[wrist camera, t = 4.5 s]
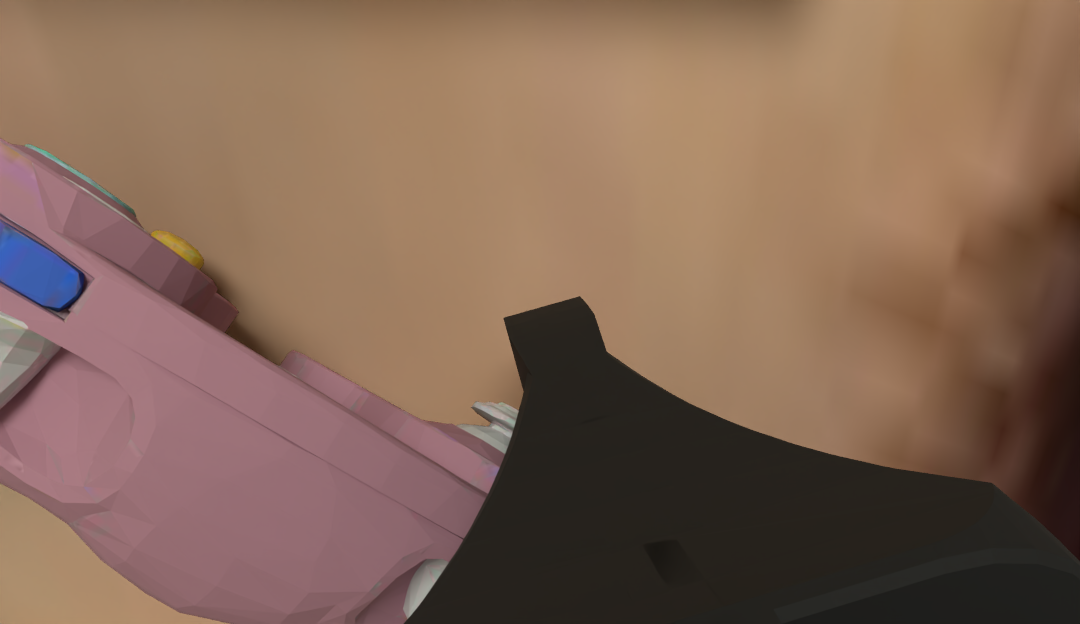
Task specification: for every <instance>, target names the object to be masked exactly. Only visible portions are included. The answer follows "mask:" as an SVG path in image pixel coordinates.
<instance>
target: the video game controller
mask: <svg viewBox="0 0 1080 624" xmlns="http://www.w3.org/2000/svg"><path fill="white" fill-rule="evenodd" d="M203 264H204V259H203V257H202V256H201V254H200V253H199V252H198V250H197V249H195V248H194V247H193V246H191V245H190V244H189V243H188V242H186V241H185V240H184V239H182V238H180V237H178V236H176V235H174V234H172V233H170V232H165V231H159V230H157V231H153V232H152V234H151V235H150V234H149V233H148V232H147V231H145V230H144V228H143V227H142V226H141V224H140V223H139V222H138V220H137V219H136V215H135V212H134V210H133V209H132V208H130V207H129V206H128V205H126V204H125V203H123V202H122V201H121V200H119V199H118V198H116V197H115V196H114V195H112V194H111V193H109V192H108V191H107V190H105V189H104V188H102V187H101V186H100V185H98V184H97V183H95V182H94V181H93V180H91V179H90V178H88V177H87V176H85V175H83V174H82V173H80V172H79V171H77V170H75V169H74V168H72V167H71V166H69V165H67V164H66V163H64V162H63V161H61V160H59V159H58V158H56V157H55V156H53V155H51V154H50V153H48V152H47V151H44V150H42V149H40V148H38V147H35V146H33V145H31V144H27V145H25V146H21V145H14V144H10V143H8V142H6V141H5V140H3V139H1V138H0V483H1V484H3V485H5V486H7V487H9V488H11V489H13V490H15V491H16V492H18V493H20V494H22V495H24V496H26V497H28V498H30V499H31V500H33V501H34V502H36V503H37V504H39V505H40V506H42V507H43V508H45V509H46V510H48V511H49V512H50V513H52V514H53V515H55V516H56V517H58V518H59V519H61V520H62V521H64V522H65V523H67V524H68V525H69V526H70V527H71V529H72V530H73V531H74V532H75V533H76V534H77V535H78V536H79V537H80V538H81V539H82V540H83V541H84V542H85V544H86V545H87V546H88V547H89V548H90V549H91V550H92V551H93V552H94V553H95V554H96V555H97V556H98V557H99V559H100V560H102V561H103V562H104V563H106V564H107V565H108V566H110V567H111V568H112V569H114V570H115V571H116V572H118V573H119V574H120V575H122V576H123V577H124V578H126V579H127V580H128V581H130V582H131V583H133V584H134V585H135V586H137V587H138V588H139V589H141V590H142V591H143V592H145V593H146V594H148V595H150V596H151V597H153V598H155V599H157V600H158V601H160V602H162V603H164V604H165V605H167V606H169V607H171V608H172V609H174V610H176V611H178V612H180V613H184V614H189V615H193V616H198V617H203V618H207V619H212V620H217V621H221V622H226V623H231V624H404V623H405V621H406V620H407V619H408V618H409V617H410V616H411V615H412V613H413V612H414V611H415V610H416V609H417V607H418V606H419V605H420V603H421V602H422V601H423V599H424V598H425V597H426V595H427V594H428V592H429V591H430V589H431V588H432V586H433V585H434V583H435V582H436V580H437V579H438V578H439V576H440V575H441V573H442V572H443V570H444V569H445V567H446V566H447V564H448V563H449V561H450V560H451V559H452V557H453V556H454V554H455V553H456V551H457V550H458V548H459V546H460V545H461V543H462V541H463V540H464V538H465V536H466V535H467V533H468V531H469V529H470V528H471V526H472V524H473V522H474V520H475V518H476V516H477V514H478V512H479V510H480V508H481V507H482V505H483V503H484V501H485V499H486V497H487V495H488V493H489V491H490V489H491V487H492V484H493V482H494V480H495V477H496V475H497V473H498V470H499V468H500V466H501V463H502V461H503V458H504V456H505V453H506V450H507V447H508V445H509V442H510V439H511V436H512V433H513V429H514V426H515V422H516V419H517V415H518V412H519V410H517V409H515V408H513V407H511V406H509V405H508V404H505V403H502V402H500V403H498V404H495V403H493V402H486V403H483V402H477V401H476V402H475V403H474V404H473V406H472V407H471V408H472V409H473V410H474V411H475V412H476V413H477V414H479V415H480V416H482V417H483V418H485V419H486V420H488V421H489V422H490V423H491V424H490V425H489V426H478V425H469V424H460V425H456V426H455V425H453V424H444V423H438V422H431V421H425V420H421V419H419V418H417V417H415V416H413V415H411V414H410V413H408V412H406V411H404V410H402V409H400V408H398V407H397V406H395V405H393V404H391V403H389V402H387V401H386V400H384V399H382V398H380V397H378V396H376V395H375V394H373V393H371V392H369V391H367V390H366V389H364V388H362V387H360V386H359V385H357V384H355V383H353V382H352V381H350V380H348V379H346V378H344V377H343V376H341V375H339V374H337V373H336V372H334V371H332V370H330V369H329V368H327V367H325V366H323V365H322V364H320V363H318V362H316V361H314V360H313V359H311V358H309V357H307V356H306V355H304V354H302V353H299V352H297V351H294V350H292V351H291V352H289V353H288V354H287V356H286V357H285V359H284V360H283V362H282V364H281V365H280V366H278V365H276V364H274V363H273V362H271V361H270V360H268V359H266V358H265V357H263V356H261V355H260V354H258V353H256V352H255V351H253V350H252V349H250V348H248V347H247V346H245V345H243V344H242V343H240V342H239V341H237V340H235V339H234V338H232V337H230V336H229V335H227V334H225V332H226V330H227V329H228V327H229V326H230V324H231V323H232V322H233V320H234V319H235V317H236V316H237V314H238V313H239V312H238V311H237V309H236V307H235V306H233V305H232V304H231V303H230V302H229V301H228V300H226V299H225V298H224V297H222V296H221V295H220V294H218V293H217V292H216V291H217V290H218V289H217V287H216V285H215V283H214V281H213V280H212V279H211V278H209V277H208V276H207V275H205V274H204V273H203V272H201V271H200V269H201V267H202V266H203Z"/></svg>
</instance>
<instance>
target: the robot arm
mask: <svg viewBox="0 0 1080 624" xmlns="http://www.w3.org/2000/svg"><path fill="white" fill-rule="evenodd" d="M504 322H505V325H506V329H507V333H508V336H509V340H510V343H511V347H512V351H513V354H514V358H515V361H516V365H517V369H518V372H519V376H520V380H521V383H522V387H523V390H524V393H523V398H522V402H521V405H520V409H519V412H518V415H517V419H516V422H515V426H514V429H513V433H512V436H511V439H510V442H509V445H508V447H507V450H506V453H505V456H504V458H503V461H502V463H501V466H500V468H499V470H498V473H497V475H496V477H495V480H494V482H493V484H492V487H491V489H490V491H489V493H488V495H487V497H486V499H485V501H484V503H483V505H482V507H481V508H480V510H479V512H478V514H477V516H476V518H475V520H474V522H473V524H472V526H471V528H470V529H469V531H468V533H467V535H466V536H465V538H464V540H463V541H462V543H461V545H460V546H459V548H458V550H457V551H456V553H455V554H454V556H453V557H452V559H451V560H450V561H449V563H448V564H447V566H446V567H445V569H444V570H443V572H442V573H441V575H440V576H439V578H438V579H437V580H436V582H435V583H434V585H433V586H432V588H431V589H430V591H429V592H428V594H427V595H426V597H425V598H424V599H423V601H422V602H421V603H420V605H419V606H418V607H417V609H416V610H415V611H414V612H413V613H412V615H411V616H410V617H409V618H408V619H407V620H406V621H405V623H404V624H1080V561H1079V560H1078V559H1077V558H1076V557H1075V556H1074V555H1073V554H1072V553H1071V552H1070V551H1069V550H1068V549H1067V548H1066V547H1065V546H1064V545H1063V544H1062V543H1061V542H1060V541H1059V540H1058V539H1057V538H1056V537H1055V536H1053V535H1052V534H1051V533H1050V532H1049V531H1048V530H1047V529H1046V528H1045V527H1044V526H1043V525H1042V524H1041V523H1040V522H1038V521H1037V520H1036V519H1035V518H1034V517H1033V516H1031V515H1030V514H1029V513H1028V512H1027V511H1025V510H1024V509H1023V508H1022V507H1020V506H1019V505H1018V504H1017V503H1015V502H1014V501H1013V500H1012V499H1010V498H1009V497H1008V496H1007V495H1006V494H1004V493H1003V492H1002V491H1001V490H1000V489H999V488H997V487H996V486H995V485H994V484H992V483H988V482H981V481H975V480H968V479H961V478H954V477H948V476H941V475H934V474H928V473H921V472H914V471H908V470H901V469H894V468H889V467H884V466H879V465H875V464H871V463H866V462H862V461H858V460H853V459H849V458H844V457H840V456H836V455H831V454H828V453H824V452H820V451H817V450H813V449H809V448H806V447H802V446H799V445H795V444H792V443H789V442H786V441H783V440H780V439H777V438H774V437H771V436H768V435H765V434H762V433H759V432H756V431H753V430H750V429H748V428H745V427H743V426H740V425H737V424H735V423H732V422H730V421H727V420H725V419H723V418H720V417H718V416H716V415H714V414H712V413H709V412H707V411H705V410H703V409H701V408H698V407H696V406H694V405H692V404H689V403H688V402H686V401H684V400H682V399H680V398H678V397H676V396H675V395H673V394H671V393H669V392H668V391H666V390H664V389H663V388H661V387H659V386H658V385H656V384H654V383H652V382H651V381H649V380H648V379H646V378H644V377H643V376H641V375H640V374H638V373H637V372H635V371H634V370H632V369H631V368H629V367H628V366H626V365H625V364H624V363H622V362H621V361H619V360H618V359H616V358H615V357H614V356H612V355H611V354H609V353H608V352H606V348H605V345H604V342H603V339H602V336H601V333H600V330H599V327H598V324H597V321H596V318H595V315H594V313H593V312H592V311H591V309H590V308H589V306H588V305H587V304H586V303H585V301H584V300H583V299H582V298H581V297H580V296H579V297H576V298H572V299H569V300H565V301H562V302H558V303H555V304H551V305H547V306H544V307H540V308H537V309H533V310H530V311H526V312H523V313H519V314H515V315H512V316H508V317H505V318H504Z"/></svg>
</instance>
